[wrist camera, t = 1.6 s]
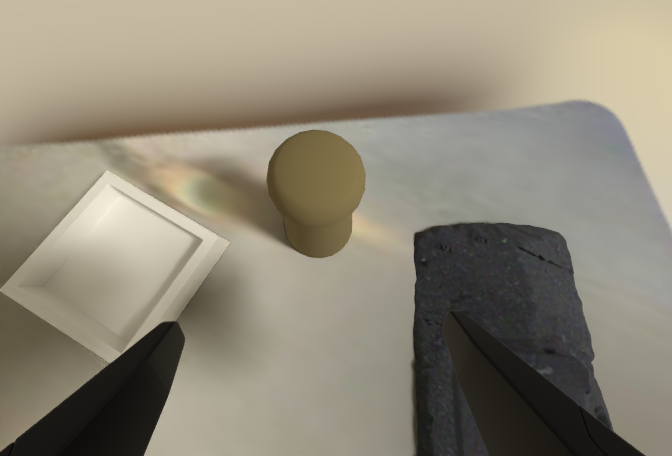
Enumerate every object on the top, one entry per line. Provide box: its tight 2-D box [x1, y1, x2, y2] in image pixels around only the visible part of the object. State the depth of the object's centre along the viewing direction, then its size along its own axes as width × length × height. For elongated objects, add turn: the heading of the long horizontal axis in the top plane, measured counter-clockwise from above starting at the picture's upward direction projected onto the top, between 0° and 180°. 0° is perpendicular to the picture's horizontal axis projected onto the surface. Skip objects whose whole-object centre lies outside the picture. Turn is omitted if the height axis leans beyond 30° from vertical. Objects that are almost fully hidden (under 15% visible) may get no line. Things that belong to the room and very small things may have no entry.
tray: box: [0, 171, 230, 363], centre depth 20 cm, size 11×11×2 cm
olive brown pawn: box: [267, 130, 366, 258], centre depth 17 cm, size 6×6×11 cm
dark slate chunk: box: [414, 223, 614, 456], centre depth 19 cm, size 15×22×5 cm
